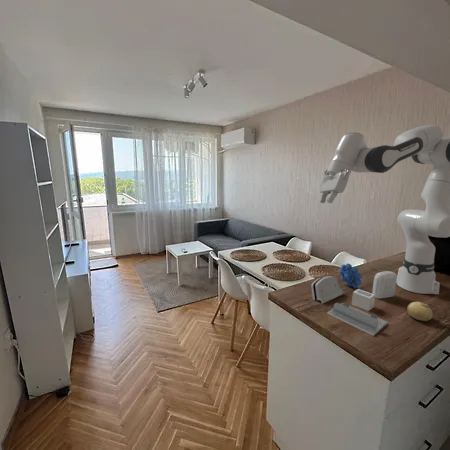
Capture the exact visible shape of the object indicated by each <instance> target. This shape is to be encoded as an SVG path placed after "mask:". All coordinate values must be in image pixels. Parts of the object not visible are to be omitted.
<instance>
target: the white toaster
mask: <svg viewBox="0 0 450 450" xmlns="http://www.w3.org/2000/svg"><path fill="white" fill-rule="evenodd" d="M310 286H311V295H312V300H316V301H320V302H321V304H325V303H327V302H330V301H331V300H333V299H336V298H338V297H339V296H342V295H344V292H343V289H341V288H340V285H339V281H338V278H337V277H336V276H330V275H329V276H326V275H325V276H322V277H319V278H317V279H316V280H314V281H313V282H312V283H311V285H310Z"/></svg>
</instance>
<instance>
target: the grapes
mask: <svg viewBox="0 0 450 450" xmlns="http://www.w3.org/2000/svg"><path fill="white" fill-rule="evenodd" d="M338 272H339V274H340V275H341V277H340V278H341V280H342V281H343V282H345V285H346V286H347V287H352V288H353V289H358V286H361V285H362V283H363V282H362V280H361V279H362V277H363V276H362V274H361V273H360V272H359V269H358V268H357V267H356V266H353V265H352V264H351V263H346V264H341V265H340V269H339V271H338Z"/></svg>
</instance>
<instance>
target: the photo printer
mask: <svg viewBox="0 0 450 450" xmlns="http://www.w3.org/2000/svg"><path fill="white" fill-rule="evenodd" d="M397 276H398V274H397V273H395V272H393V271H388V270H385V271H381V272H377V273H376V274H375V275H374V277H373V283H372V292H371V293H372V294H375V299H387V298H394V297H395V294H396V293H395V292H396V287H397V283H396V281H397Z"/></svg>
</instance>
